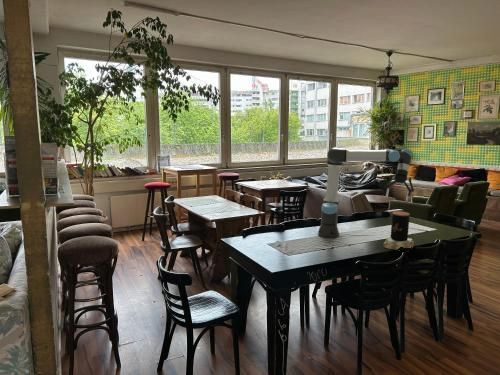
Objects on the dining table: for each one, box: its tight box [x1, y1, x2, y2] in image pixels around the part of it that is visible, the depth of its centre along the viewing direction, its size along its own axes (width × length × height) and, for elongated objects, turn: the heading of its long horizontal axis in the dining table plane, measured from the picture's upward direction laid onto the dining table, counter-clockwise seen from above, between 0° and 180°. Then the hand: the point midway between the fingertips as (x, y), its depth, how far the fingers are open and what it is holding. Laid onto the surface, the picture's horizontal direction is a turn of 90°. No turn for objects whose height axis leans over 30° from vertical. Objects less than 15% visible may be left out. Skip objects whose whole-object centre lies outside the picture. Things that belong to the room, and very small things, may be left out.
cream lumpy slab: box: [383, 235, 415, 251], centre depth 246 cm, size 16×16×5 cm
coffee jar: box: [390, 210, 411, 241], centre depth 244 cm, size 11×11×18 cm
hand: (396, 199), depth 259 cm, fingers open, 13 cm apart
